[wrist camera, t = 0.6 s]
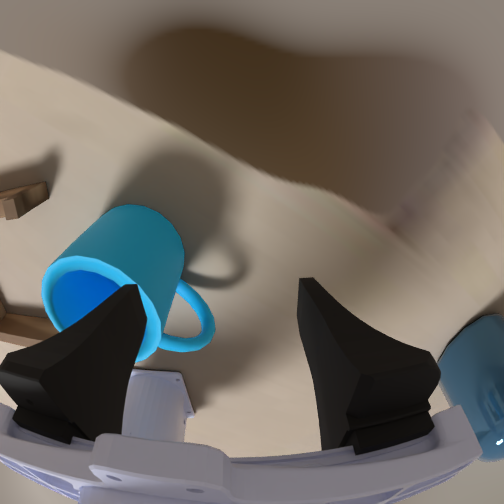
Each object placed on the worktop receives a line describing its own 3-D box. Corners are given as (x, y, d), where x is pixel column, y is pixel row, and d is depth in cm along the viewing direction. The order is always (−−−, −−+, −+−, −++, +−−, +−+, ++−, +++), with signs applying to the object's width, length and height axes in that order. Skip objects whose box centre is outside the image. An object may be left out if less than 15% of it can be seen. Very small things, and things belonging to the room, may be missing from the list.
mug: (81, 261, 22) (34, 320, 15) (115, 183, 19) (56, 227, 12) (193, 329, 26) (181, 401, 19) (245, 267, 23) (247, 341, 16)
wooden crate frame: (92, 333, 26) (77, 363, 22) (5, 321, 26) (-12, 343, 22) (45, 181, 19) (13, 198, 15) (-39, 203, 19) (-65, 219, 15)
